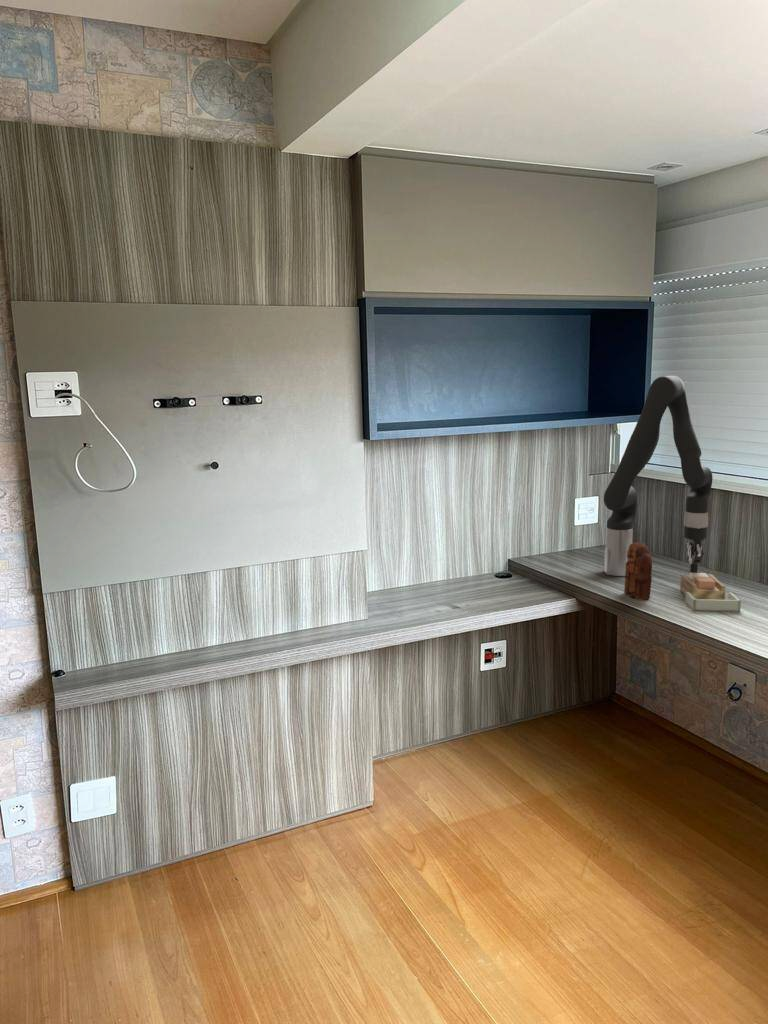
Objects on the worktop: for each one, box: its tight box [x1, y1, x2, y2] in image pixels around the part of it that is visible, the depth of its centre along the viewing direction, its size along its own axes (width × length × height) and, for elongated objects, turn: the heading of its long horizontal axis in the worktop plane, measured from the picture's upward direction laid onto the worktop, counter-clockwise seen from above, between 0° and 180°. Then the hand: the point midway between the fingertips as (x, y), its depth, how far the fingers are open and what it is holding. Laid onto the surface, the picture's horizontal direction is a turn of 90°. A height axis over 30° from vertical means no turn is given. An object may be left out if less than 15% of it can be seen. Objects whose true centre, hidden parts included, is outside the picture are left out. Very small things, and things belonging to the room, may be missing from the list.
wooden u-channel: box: [679, 573, 726, 600], centre depth 255 cm, size 10×15×6 cm, turn 173°
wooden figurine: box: [623, 541, 653, 601], centre depth 256 cm, size 12×6×18 cm, turn 14°
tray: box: [685, 592, 742, 612], centre depth 243 cm, size 14×9×4 cm, turn 83°
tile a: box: [689, 572, 710, 583], centre depth 258 cm, size 5×5×2 cm
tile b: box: [694, 577, 715, 589], centre depth 252 cm, size 5×5×2 cm
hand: (693, 574), depth 265 cm, fingers closed
